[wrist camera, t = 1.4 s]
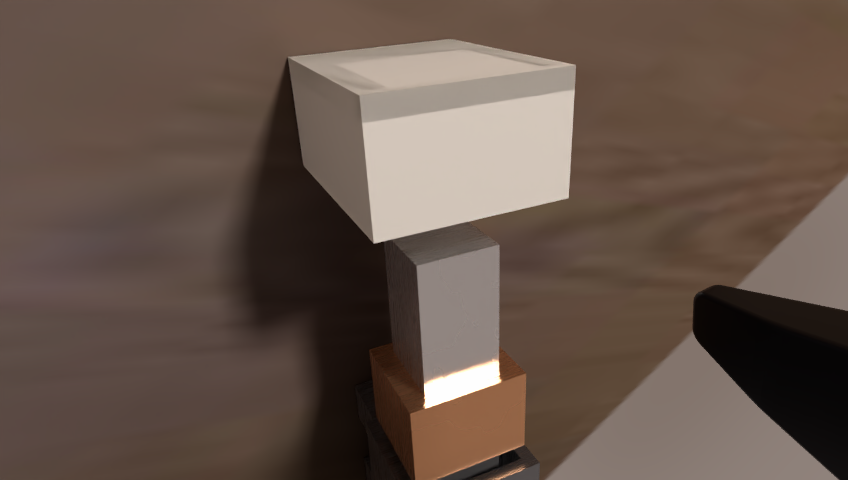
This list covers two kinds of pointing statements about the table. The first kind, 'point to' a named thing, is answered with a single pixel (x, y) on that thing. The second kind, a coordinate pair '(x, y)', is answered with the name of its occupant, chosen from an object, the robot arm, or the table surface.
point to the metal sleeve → (387, 470)
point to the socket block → (434, 132)
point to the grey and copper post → (447, 357)
